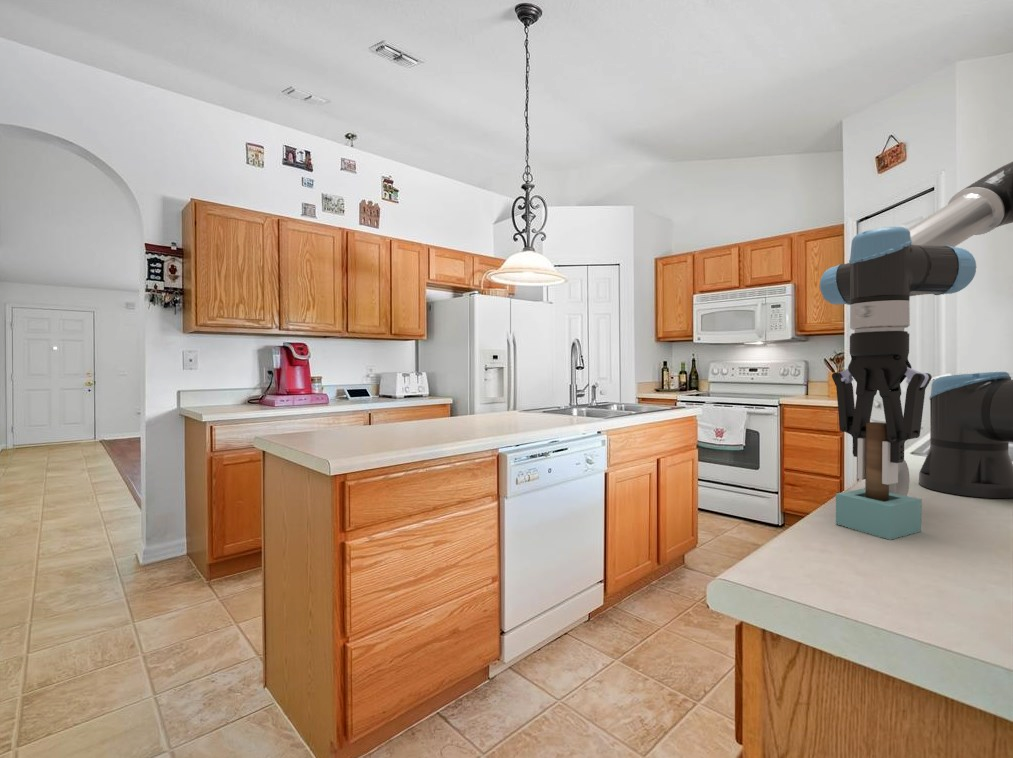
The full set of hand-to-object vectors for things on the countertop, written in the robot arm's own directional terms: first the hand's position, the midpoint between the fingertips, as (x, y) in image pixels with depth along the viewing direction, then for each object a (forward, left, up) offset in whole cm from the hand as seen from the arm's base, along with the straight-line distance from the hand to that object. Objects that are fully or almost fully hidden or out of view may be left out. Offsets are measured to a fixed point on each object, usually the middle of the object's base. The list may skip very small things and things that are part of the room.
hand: (877, 480), depth 80 cm
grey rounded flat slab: (-12, -5, -8) cm, 15 cm away
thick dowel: (0, 0, -5) cm, 5 cm away
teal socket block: (0, 0, -8) cm, 8 cm away
